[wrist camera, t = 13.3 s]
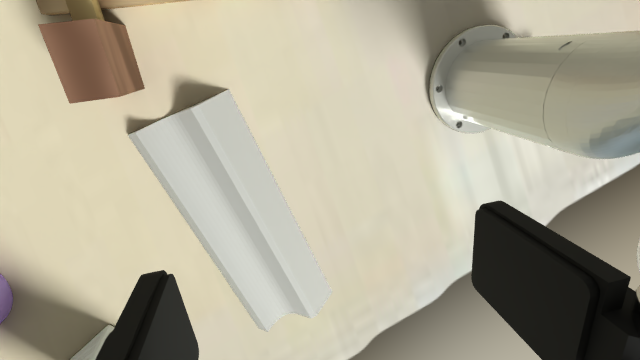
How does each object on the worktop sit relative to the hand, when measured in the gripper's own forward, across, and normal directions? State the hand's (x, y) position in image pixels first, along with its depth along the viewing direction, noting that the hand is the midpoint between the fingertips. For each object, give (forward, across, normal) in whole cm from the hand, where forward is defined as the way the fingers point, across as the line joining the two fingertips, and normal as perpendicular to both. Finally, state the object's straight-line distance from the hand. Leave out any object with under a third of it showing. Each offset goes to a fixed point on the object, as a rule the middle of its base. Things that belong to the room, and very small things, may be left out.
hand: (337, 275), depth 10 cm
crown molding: (+31, +6, +13) cm, 34 cm away
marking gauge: (+30, +15, -12) cm, 36 cm away
